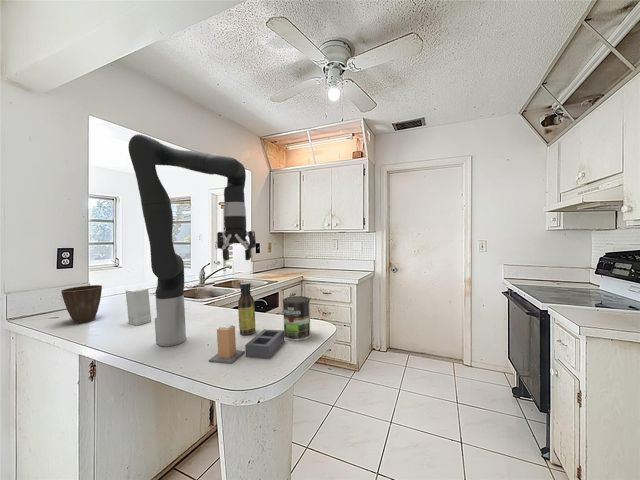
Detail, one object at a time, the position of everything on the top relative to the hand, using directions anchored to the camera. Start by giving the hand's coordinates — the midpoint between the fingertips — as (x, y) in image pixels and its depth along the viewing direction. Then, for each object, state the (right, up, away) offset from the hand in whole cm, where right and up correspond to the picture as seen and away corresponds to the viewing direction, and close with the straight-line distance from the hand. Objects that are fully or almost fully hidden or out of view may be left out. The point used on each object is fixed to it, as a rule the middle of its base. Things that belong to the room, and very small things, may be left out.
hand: (237, 260), depth 102 cm
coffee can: (+22, -30, +5) cm, 37 cm away
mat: (0, -31, -11) cm, 32 cm away
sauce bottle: (+1, -30, +10) cm, 32 cm away
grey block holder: (+12, -30, -6) cm, 33 cm away
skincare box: (-53, -31, +28) cm, 68 cm away
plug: (0, -30, -11) cm, 32 cm away
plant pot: (-83, -32, +33) cm, 95 cm away
